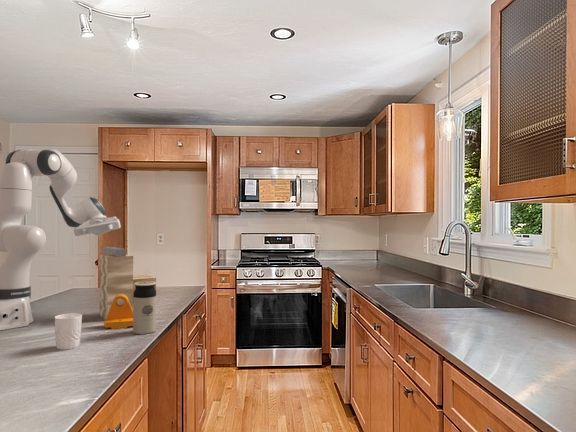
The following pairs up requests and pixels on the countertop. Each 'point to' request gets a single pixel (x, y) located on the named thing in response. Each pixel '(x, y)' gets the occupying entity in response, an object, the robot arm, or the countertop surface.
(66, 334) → the white cup
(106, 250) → the block
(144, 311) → the travel mug
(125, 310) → the bracket
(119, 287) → the step stand
